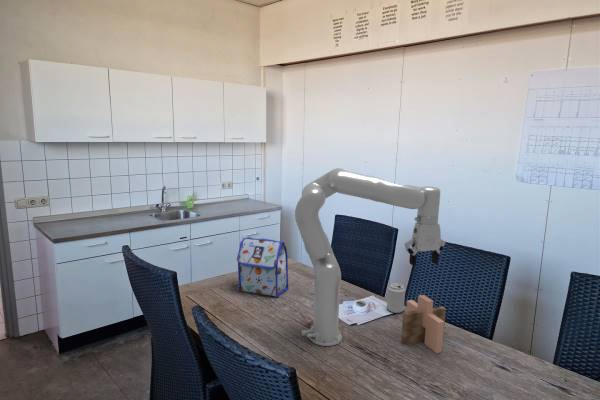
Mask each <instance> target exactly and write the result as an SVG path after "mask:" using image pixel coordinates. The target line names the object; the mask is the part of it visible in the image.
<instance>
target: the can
mask: <svg viewBox="0 0 600 400" xmlns="http://www.w3.org/2000/svg"><path fill="white" fill-rule="evenodd" d="M405 296H406V288H405V286H404V285H403V284H402V283H398V282H397V283H396V282H393V283H390V284H389V286H388V287H387V298H386V299H387V300H386V309H387V310H388V311H389V312H390V311H391V312H390V313H393V314H401V313H402V312H404V310H405V299H406V298H405Z"/></svg>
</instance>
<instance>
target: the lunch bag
mask: <svg viewBox="0 0 600 400" xmlns="http://www.w3.org/2000/svg"><path fill="white" fill-rule="evenodd" d="M287 251H288V250H287V246H286V243H285V242H284V241H280V240H279V241H278V240H275V239H268V238H254V237H250V236H248V237H243V238H242V240H240V242H239V249H238V252H237V257H236V261H237V271H238V272H237V273H238V274H237V275H238V291H239V292H244V291H245V292H246V293H251V292H252V293H251V294H260V295H265V296H271V297H276V298H279V297H280V295H282V294H283V293H284V292H285V291H287V290H289V288H290V287H289V269H288V268H289V264H288V261H289V260H288V252H287Z"/></svg>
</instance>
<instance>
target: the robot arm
mask: <svg viewBox="0 0 600 400" xmlns="http://www.w3.org/2000/svg"><path fill="white" fill-rule="evenodd" d="M336 193H338V194H341V195H346V196H351V197H356V198H361V199H364V200H365V199H366V200H369V201H374V202H377V203H378V202H379V203H382V204H386V205H387V204H388V205H391V206H395V207H398V208H399V207H400V208H403V209H408V210H417V212H416V213H417V215H416V217H414V221H415V223H414V226H413V230H412V237H411V239H410V240H408V241H407V242H405V243H404V246H405V250H406V252H407V253H408V254H409V259H408V260H409V265H411V266H413V267H415V266H417V253H418V252H428V251H429V252H431V251H432V252H431V259H430V262H431V263H433V264H434V265H438V264H439V258H440V257H439V255H440V254H441V252H442V250H443V249H444V246H445V245H446V241H445V240H443V239H442V237H441V224H440V223H439V214H440V213H439V211H440V205H441V204H440V200H441V189H440V188H439V187H435V186H417V185H416V186H415V185H410V184H404V185H400V184H396V183H392V182H389V181H386V180H384V179H381V178H378V177H376V176H373V175H372V176H371V175H366V174H362V173H357V172H354V171H348V170H344V169H343V168H334V169H332V170H330V171H328V172H326V173H324V174H322V176H320V177H318V178H316V179H315V180H312V181H311V182H309V183H307V184H306V185H305V186H304V187H303V188H302V191H301V197H300V198H299V200H298V201H297V204H296V206H295V209H294V219H295V223H296V225H297V229H298V230H299V231H298V232H299V234H300V236H301V239H302V243H303V246H304V249H305V251H306V252H305V253H307V254H308V256H309V259H310V262H311V263H312V267H313V270H314V271H313V272H314V293H313V294H314V295H313V296H314V297H313V305H314V306H313V309H314V310H313V325H310V328H308V329H303V330H301V333H300V334H301V336H303V337H304V336H306V338H309V340H310V341H311V342H312V343H313V344H315V345H318V346H324V347H331V346H335V345H336V346H337V345H338V344H340V343H341V342H342V340H343V335H342V334H341V332H340V331H339V319H340V318H339V317H340V316H339V314H340V291H341V290H340V289H341V282H342V272H341V268H340V265H339V263H338V260H337V259H336V256H335V254H334V252H333V251H334V250H333V248H332V245H331V242H330V241H329V237H328V235H327V234H326V232H325V231H324V229H323V225H322V223H321V219H320V216H319V212H320V209H322V208H323V206H324V205H325V202H326V199H327V198H329V197H331V196H333V195H334V194H336Z"/></svg>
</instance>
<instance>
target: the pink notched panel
mask: <svg viewBox="0 0 600 400" xmlns="http://www.w3.org/2000/svg"><path fill="white" fill-rule="evenodd" d="M433 308H434V300H433V299H431V298H429V297H427V295H425V294H420V295H418V296H417V301H415V300H414V299H409V300H407V301H406V310H405V312H409V311H416V310H419V311H420V312H421V325H422V326H423V327H424V328H426V331H425V341H424V345H426V346H427V347H428V348H429V349H430V350H432V351H433V352H434V353H435V354H439V353H442V352H443V342H444V337H443V333H444V334H445V326H444V321H443V320H441V319H440V318H438V317H437V316H435V315H434V314H432V311H433Z"/></svg>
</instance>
